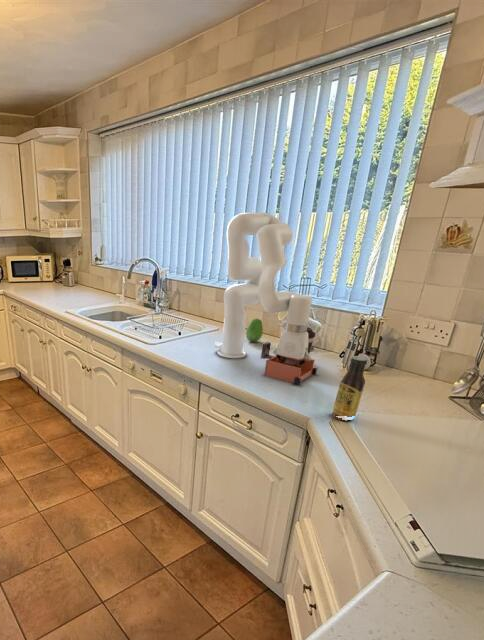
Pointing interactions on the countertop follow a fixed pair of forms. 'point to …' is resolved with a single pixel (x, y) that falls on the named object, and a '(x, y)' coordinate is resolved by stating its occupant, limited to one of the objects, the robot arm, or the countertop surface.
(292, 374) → the tub
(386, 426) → the countertop surface
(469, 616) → the countertop surface
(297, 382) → the wheel axle
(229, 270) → the robot arm
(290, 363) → the block
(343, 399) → the sauce bottle
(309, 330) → the coffee cup
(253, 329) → the avocado
